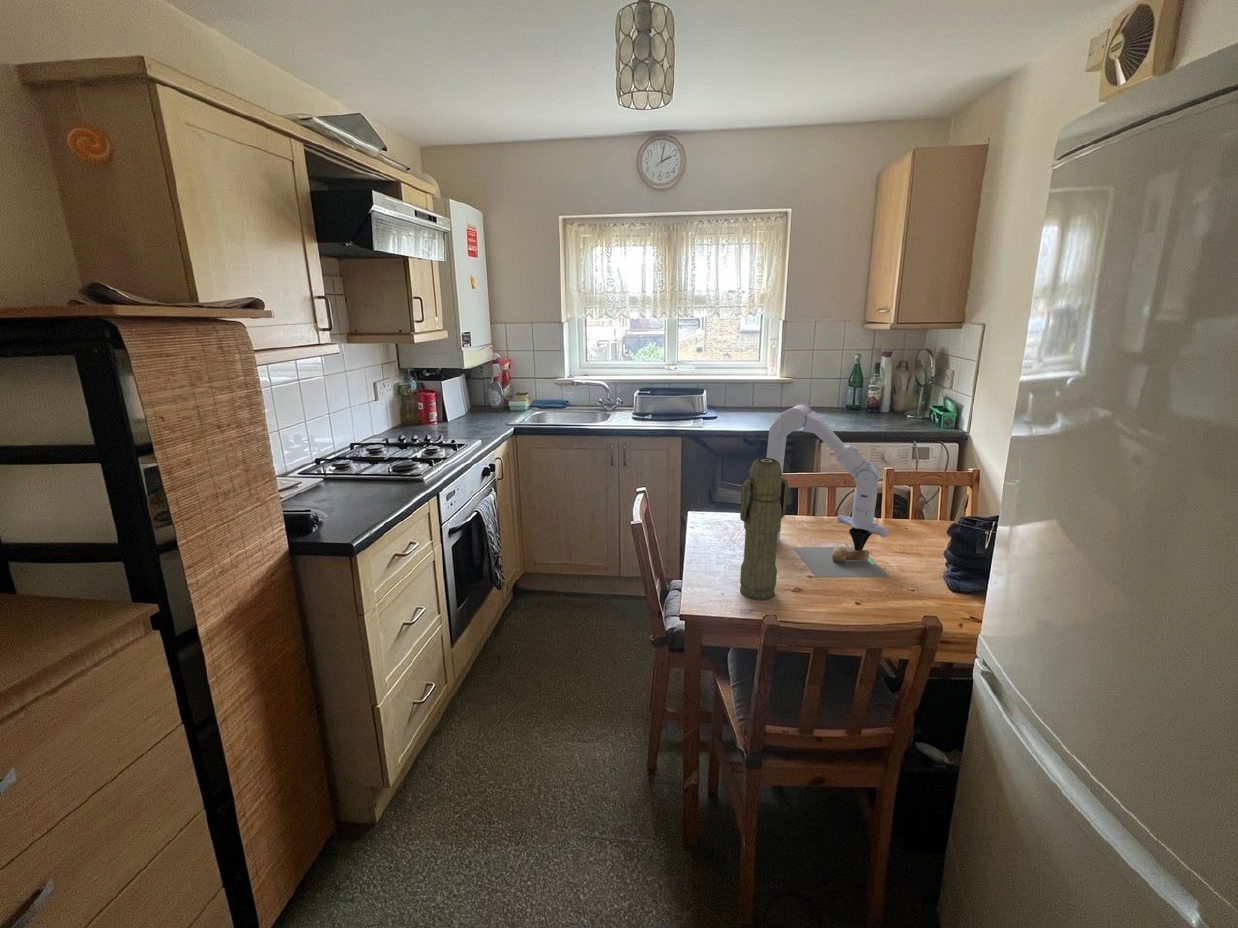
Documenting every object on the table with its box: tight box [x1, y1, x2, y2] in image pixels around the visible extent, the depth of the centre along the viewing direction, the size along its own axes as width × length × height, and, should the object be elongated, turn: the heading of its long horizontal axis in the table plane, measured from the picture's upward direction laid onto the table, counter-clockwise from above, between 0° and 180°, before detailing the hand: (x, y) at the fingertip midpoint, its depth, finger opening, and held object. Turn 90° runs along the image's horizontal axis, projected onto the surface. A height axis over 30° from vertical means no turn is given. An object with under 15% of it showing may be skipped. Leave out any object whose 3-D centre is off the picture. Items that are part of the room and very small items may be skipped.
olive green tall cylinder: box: [739, 457, 789, 601], centre depth 142 cm, size 9×12×35 cm
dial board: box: [792, 546, 891, 578], centre depth 162 cm, size 20×20×1 cm
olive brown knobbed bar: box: [832, 546, 870, 562], centre depth 162 cm, size 10×4×3 cm, turn 90°
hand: (858, 552), depth 163 cm, fingers closed
